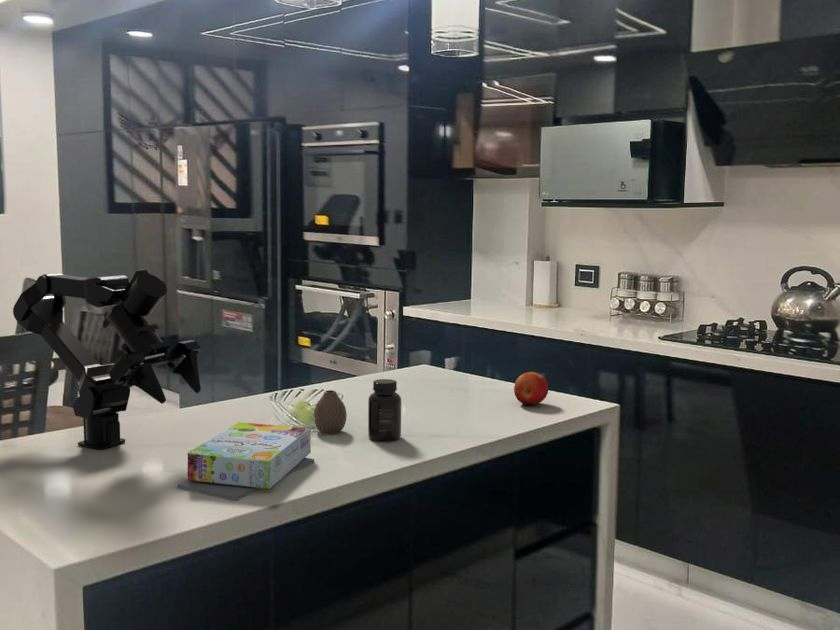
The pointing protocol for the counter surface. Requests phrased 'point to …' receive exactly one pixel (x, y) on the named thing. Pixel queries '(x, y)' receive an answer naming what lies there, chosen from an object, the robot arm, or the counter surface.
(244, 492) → the mat
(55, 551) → the counter surface
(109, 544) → the counter surface
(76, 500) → the counter surface
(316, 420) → the vase
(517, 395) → the apple
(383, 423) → the supplement bottle
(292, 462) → the snack box
